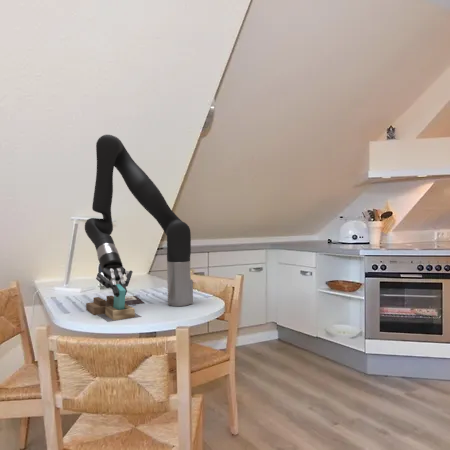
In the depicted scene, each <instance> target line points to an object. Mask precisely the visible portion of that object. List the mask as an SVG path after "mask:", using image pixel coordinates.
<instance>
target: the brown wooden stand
mask: <svg viewBox="0 0 450 450" xmlns="http://www.w3.org/2000/svg"><path fill="white" fill-rule="evenodd" d="M125 304H126V303H125ZM108 306H112V307H113V306H114V295H111V294H110V295H106V299H104V298H101V297H100V296H94V297H93V299H92V302H86V303H85V310H86V311H87V312H88V313H89V314H92V315H93V316H98V315H101V314H105V307H108Z"/></svg>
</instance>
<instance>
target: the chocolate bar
mask: <svg viewBox="0 0 450 450" xmlns="http://www.w3.org/2000/svg"><path fill="white" fill-rule="evenodd" d="M125 303H126V305H128V306H131V305H133V306H134V305H143V304H144V305H145V304H146V302H145V301H144V300H142V299H140V298H139V296H137V295H125Z"/></svg>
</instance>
